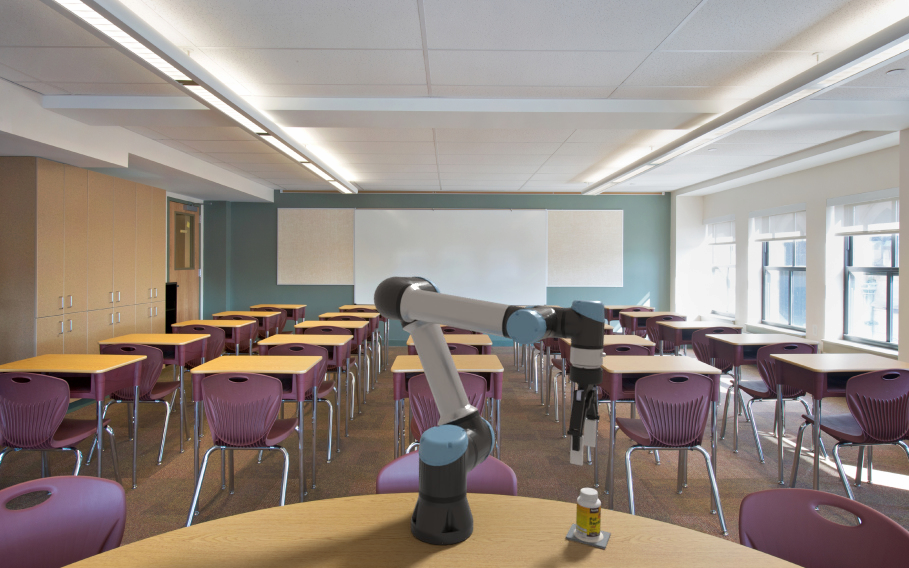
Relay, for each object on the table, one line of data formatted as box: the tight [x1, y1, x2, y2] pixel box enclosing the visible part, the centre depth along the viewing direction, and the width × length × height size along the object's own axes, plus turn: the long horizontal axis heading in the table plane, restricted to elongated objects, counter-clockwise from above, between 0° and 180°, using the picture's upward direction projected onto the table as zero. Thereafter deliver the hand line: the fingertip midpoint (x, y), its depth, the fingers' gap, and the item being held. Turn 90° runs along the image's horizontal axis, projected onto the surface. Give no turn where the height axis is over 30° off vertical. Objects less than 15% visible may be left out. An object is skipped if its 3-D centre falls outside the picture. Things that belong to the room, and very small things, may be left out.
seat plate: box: [565, 523, 612, 550], centre depth 113 cm, size 9×7×1 cm
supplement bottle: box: [575, 487, 602, 539], centre depth 113 cm, size 6×6×10 cm
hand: (583, 454), depth 114 cm, fingers open, 13 cm apart
